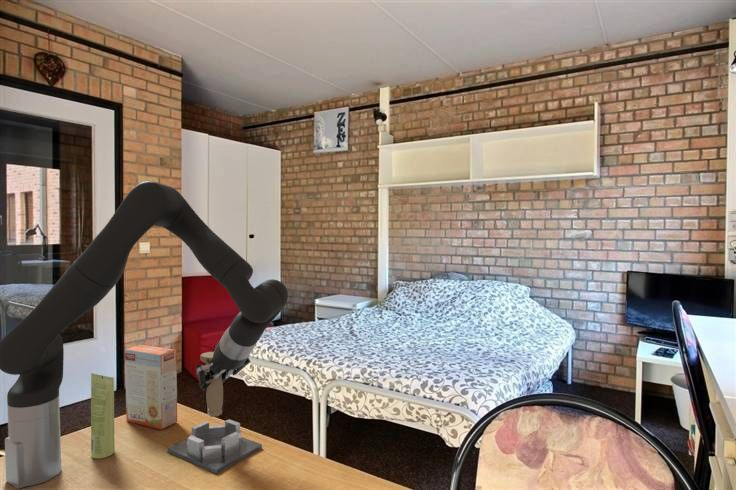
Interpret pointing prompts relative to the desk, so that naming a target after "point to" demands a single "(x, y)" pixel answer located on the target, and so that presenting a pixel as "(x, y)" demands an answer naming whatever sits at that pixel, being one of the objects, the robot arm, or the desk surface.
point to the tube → (102, 416)
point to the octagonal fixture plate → (215, 446)
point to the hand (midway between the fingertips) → (210, 384)
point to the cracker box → (151, 386)
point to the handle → (213, 390)
